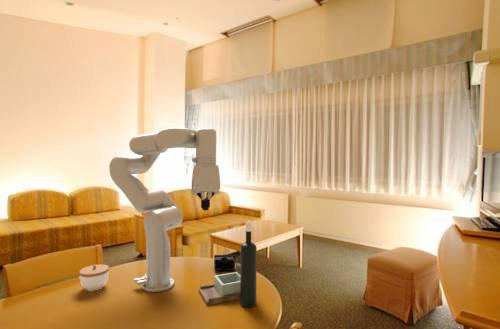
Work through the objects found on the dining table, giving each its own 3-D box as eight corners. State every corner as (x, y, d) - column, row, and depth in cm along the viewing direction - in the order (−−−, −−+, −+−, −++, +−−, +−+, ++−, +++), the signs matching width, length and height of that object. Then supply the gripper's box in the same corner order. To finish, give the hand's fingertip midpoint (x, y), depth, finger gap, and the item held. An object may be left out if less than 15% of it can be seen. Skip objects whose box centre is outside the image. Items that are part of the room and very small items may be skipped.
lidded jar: (82, 296, 111) (82, 272, 111) (76, 287, 119) (76, 264, 119) (112, 288, 118) (112, 265, 118) (105, 280, 126) (105, 258, 126)
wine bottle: (244, 309, 102) (245, 223, 101) (237, 302, 107) (238, 220, 106) (259, 305, 104) (259, 222, 104) (251, 298, 110) (251, 219, 109)
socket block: (222, 297, 108) (222, 285, 108) (214, 286, 117) (214, 275, 117) (246, 292, 112) (246, 280, 112) (236, 282, 121) (237, 271, 121)
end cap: (235, 266, 143) (235, 253, 142) (235, 272, 136) (235, 257, 135) (214, 267, 142) (214, 253, 142) (213, 272, 135) (213, 258, 135)
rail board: (207, 305, 105) (207, 280, 104) (198, 291, 116) (198, 268, 115) (250, 296, 111) (250, 273, 111) (238, 284, 122) (238, 262, 122)
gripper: (188, 161, 103) (187, 212, 104) (228, 161, 110) (227, 210, 110) (184, 161, 110) (183, 209, 111) (221, 161, 116) (221, 207, 117)
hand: (205, 209), depth 110 cm, fingers closed
